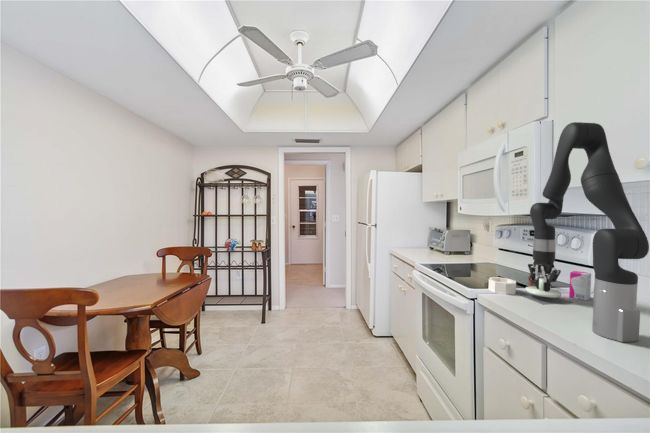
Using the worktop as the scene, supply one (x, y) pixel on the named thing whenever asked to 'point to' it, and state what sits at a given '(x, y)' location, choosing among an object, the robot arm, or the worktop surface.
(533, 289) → the lid
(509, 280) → the bowl
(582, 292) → the supplement box
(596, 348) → the worktop surface
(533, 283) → the pottery mug
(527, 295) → the mat
